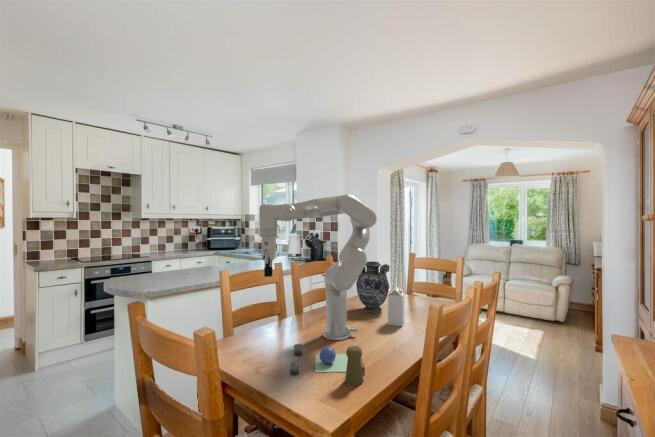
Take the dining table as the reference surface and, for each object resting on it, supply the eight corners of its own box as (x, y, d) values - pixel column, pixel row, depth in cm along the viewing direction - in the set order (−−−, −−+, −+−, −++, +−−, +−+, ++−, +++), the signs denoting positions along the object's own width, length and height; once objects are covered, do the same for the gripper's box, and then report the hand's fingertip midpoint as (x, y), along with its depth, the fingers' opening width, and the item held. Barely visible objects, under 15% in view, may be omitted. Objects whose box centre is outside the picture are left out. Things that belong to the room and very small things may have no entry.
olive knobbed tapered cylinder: (343, 376, 104) (343, 344, 104) (361, 376, 104) (361, 343, 104) (346, 386, 98) (346, 351, 98) (365, 385, 98) (365, 350, 98)
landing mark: (351, 354, 121) (351, 353, 121) (355, 371, 107) (355, 371, 107) (315, 354, 121) (315, 354, 121) (314, 372, 107) (314, 371, 107)
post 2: (299, 371, 108) (299, 361, 108) (298, 375, 105) (298, 365, 105) (290, 371, 108) (290, 361, 108) (289, 375, 105) (289, 365, 105)
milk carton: (387, 325, 155) (387, 287, 155) (390, 320, 161) (390, 284, 161) (402, 327, 152) (402, 288, 152) (404, 322, 158) (404, 285, 159)
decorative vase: (348, 310, 179) (348, 262, 179) (363, 304, 194) (364, 259, 194) (382, 317, 167) (383, 265, 167) (395, 309, 182) (396, 262, 182)
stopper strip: (358, 352, 123) (358, 345, 123) (364, 374, 105) (364, 367, 105) (353, 352, 123) (353, 345, 123) (358, 374, 105) (358, 367, 105)
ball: (324, 362, 117) (338, 355, 116) (323, 370, 111) (338, 363, 110) (317, 348, 117) (331, 341, 116) (315, 355, 111) (330, 348, 110)
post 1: (302, 352, 123) (302, 343, 123) (301, 356, 120) (301, 347, 120) (294, 352, 123) (294, 344, 123) (293, 356, 120) (293, 347, 120)
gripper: (274, 233, 125) (274, 279, 125) (279, 232, 140) (279, 273, 140) (256, 234, 124) (256, 279, 124) (262, 232, 139) (262, 273, 139)
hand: (268, 276), depth 132 cm, fingers closed
